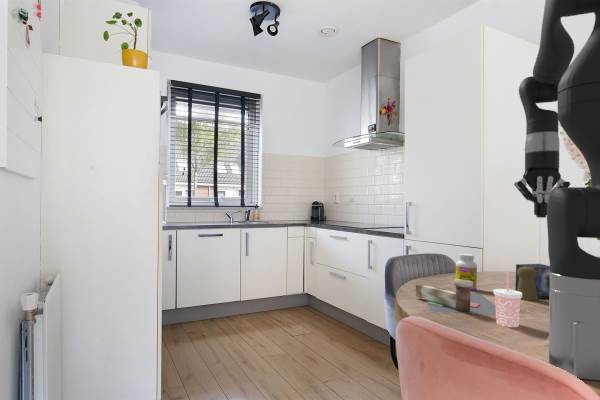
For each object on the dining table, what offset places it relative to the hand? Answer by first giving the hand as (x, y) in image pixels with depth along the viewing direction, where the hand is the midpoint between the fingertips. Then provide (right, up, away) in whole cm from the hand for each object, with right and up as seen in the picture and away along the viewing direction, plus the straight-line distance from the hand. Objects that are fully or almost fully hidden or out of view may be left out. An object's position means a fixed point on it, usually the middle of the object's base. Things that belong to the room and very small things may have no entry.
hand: (541, 217), depth 95 cm
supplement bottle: (-5, -28, +31) cm, 42 cm away
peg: (-23, -25, +9) cm, 35 cm away
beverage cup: (-13, -27, -7) cm, 31 cm away
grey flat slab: (-16, -27, +13) cm, 34 cm away
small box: (+15, -28, +25) cm, 40 cm away
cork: (+7, -28, +18) cm, 33 cm away
